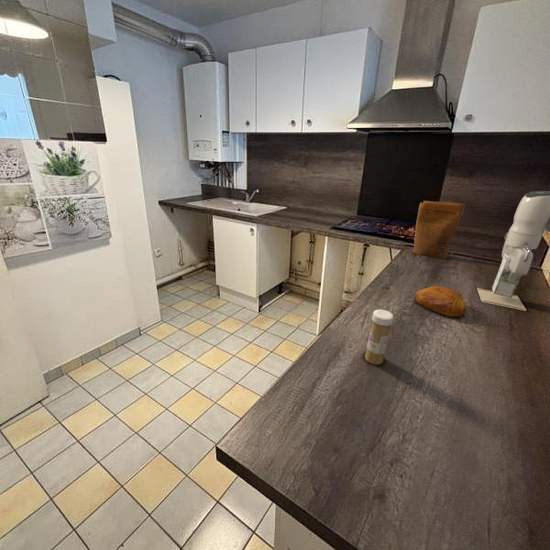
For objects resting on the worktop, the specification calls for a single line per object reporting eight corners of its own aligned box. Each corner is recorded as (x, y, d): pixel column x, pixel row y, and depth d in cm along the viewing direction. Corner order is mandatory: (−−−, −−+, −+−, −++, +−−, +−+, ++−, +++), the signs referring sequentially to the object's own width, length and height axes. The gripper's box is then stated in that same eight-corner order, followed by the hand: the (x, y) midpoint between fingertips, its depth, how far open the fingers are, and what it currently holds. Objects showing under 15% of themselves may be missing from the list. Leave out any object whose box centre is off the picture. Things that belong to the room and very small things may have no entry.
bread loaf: (448, 328, 92) (459, 308, 88) (406, 301, 103) (414, 282, 99) (471, 315, 99) (482, 296, 95) (430, 291, 110) (437, 273, 106)
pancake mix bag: (449, 261, 144) (465, 204, 133) (408, 254, 153) (420, 199, 141) (449, 257, 149) (465, 202, 138) (410, 250, 158) (422, 198, 147)
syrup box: (510, 292, 107) (524, 255, 102) (512, 298, 103) (528, 259, 97) (491, 288, 110) (505, 252, 104) (493, 294, 105) (507, 256, 100)
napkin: (516, 296, 110) (517, 295, 110) (526, 311, 99) (526, 310, 99) (476, 288, 115) (477, 287, 115) (481, 302, 105) (481, 301, 104)
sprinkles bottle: (360, 356, 75) (369, 310, 69) (374, 352, 76) (384, 307, 71) (373, 367, 71) (382, 320, 65) (387, 363, 73) (398, 316, 67)
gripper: (543, 250, 89) (526, 291, 94) (525, 235, 105) (512, 270, 111) (518, 247, 91) (503, 286, 97) (504, 232, 108) (492, 267, 113)
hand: (507, 277), depth 104 cm, fingers closed on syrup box, 6 cm apart
